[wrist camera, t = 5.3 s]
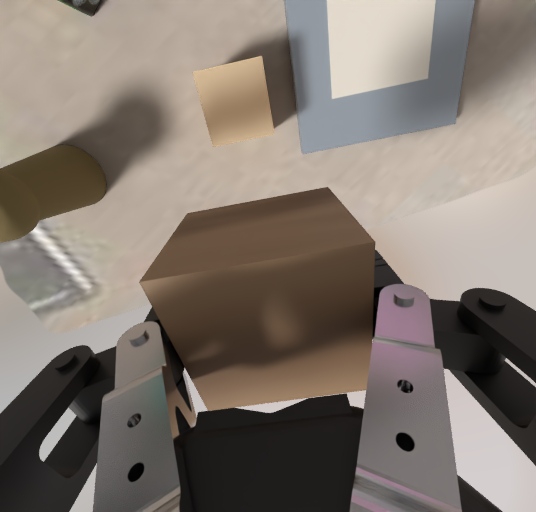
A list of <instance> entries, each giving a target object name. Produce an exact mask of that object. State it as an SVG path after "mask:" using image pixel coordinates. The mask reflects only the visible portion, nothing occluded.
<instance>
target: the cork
mask: <svg viewBox="0 0 536 512" xmlns="http://www.w3.org/2000/svg"><path fill="white" fill-rule="evenodd" d="M106 185H107V184H106V179H105V175H104V173H103V171H102V169H101V167H100V165H99V164H98V163H97V162H96V161H95V159H94V158H93V157H92V156H90V155H89V154H88V153H86V152H85V151H83V150H82V149H79V148H77V147H74V146H70V145H59V146H55V147H52V148H49V149H47V150H44V151H42V152H39V153H37V154H35V155H32V156H30V157H27V158H25V159H22V160H20V161H18V162H15V163H13V164H10V165H8V166H5V167H3V168H1V169H0V242H6V241H11V240H15V239H19V238H21V237H23V236H25V235H26V234H28V233H29V232H31V231H32V230H33V229H34V228H35V227H36V226H37V224H38V222H39V220H43V219H46V218H49V217H52V216H56V215H59V214H62V213H66V212H69V211H72V210H76V209H79V208H82V207H85V206H89V205H92V204H95V203H97V202H98V201H100V200H101V199H102V198H103V196H104V194H105V192H106Z"/></svg>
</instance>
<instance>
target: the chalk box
mask: <svg viewBox="0 0 536 512" xmlns="http://www.w3.org/2000/svg"><path fill="white" fill-rule="evenodd" d="M58 1H60V2H62V3H64V4H66V5H68V6H70V7H72V8H74V9H76V10H78V11H80V12H82V13H85V14H87V15H89V16H92V15H93V13H94V12H95V10H96V8H97V6H98V4H99V2H100V0H58Z"/></svg>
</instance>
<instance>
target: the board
mask: <svg viewBox="0 0 536 512" xmlns="http://www.w3.org/2000/svg"><path fill="white" fill-rule="evenodd" d="M474 3H475V0H284V5H285V13H286V22H287V31H288V40H289V48H290V57H291V66H292V75H293V84H294V92H295V101H296V110H297V119H298V127H299V136H300V145H301V153H302V154H307V153H312V152H317V151H322V150H327V149H332V148H337V147H342V146H347V145H352V144H357V143H362V142H367V141H372V140H377V139H382V138H387V137H392V136H397V135H402V134H407V133H412V132H417V131H422V130H427V129H432V128H437V127H442V126H447V125H452V124H455V123H456V117H457V110H458V104H459V98H460V91H461V85H462V79H463V72H464V66H465V60H466V53H467V47H468V41H469V34H470V28H471V22H472V15H473V9H474Z"/></svg>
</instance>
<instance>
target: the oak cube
mask: <svg viewBox="0 0 536 512" xmlns="http://www.w3.org/2000/svg"><path fill="white" fill-rule="evenodd" d="M193 76H194V80H195V83H196V87H197V91H198V94H199V98H200V101H201V105H202V109H203V112H204V116H205V120H206V123H207V127H208V130H209V134H210V138H211V141H212V145H213V147H216V146H221V145H226V144H231V143H235V142H240V141H245V140H249V139H254V138H259V137H263V136H268V135H273V134H274V128H273V122H272V115H271V109H270V103H269V97H268V91H267V84H266V78H265V72H264V66H263V60H262V56H258V57H254V58H250V59H246V60H241V61H237V62H233V63H229V64H225V65H220V66H216V67H212V68H208V69H203V70H199V71H195V72H193Z"/></svg>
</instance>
